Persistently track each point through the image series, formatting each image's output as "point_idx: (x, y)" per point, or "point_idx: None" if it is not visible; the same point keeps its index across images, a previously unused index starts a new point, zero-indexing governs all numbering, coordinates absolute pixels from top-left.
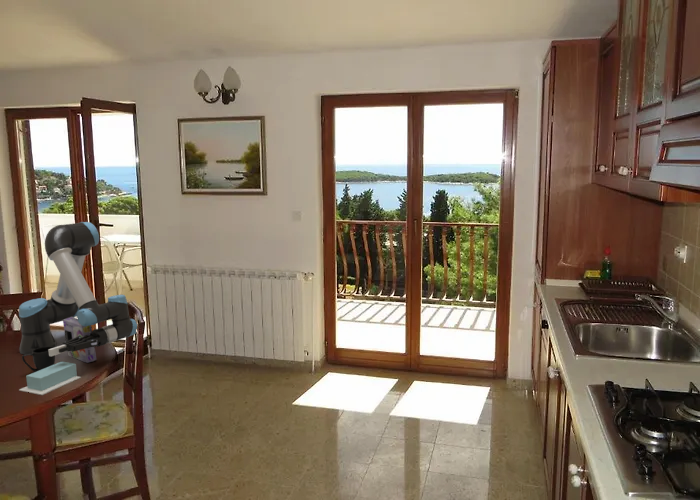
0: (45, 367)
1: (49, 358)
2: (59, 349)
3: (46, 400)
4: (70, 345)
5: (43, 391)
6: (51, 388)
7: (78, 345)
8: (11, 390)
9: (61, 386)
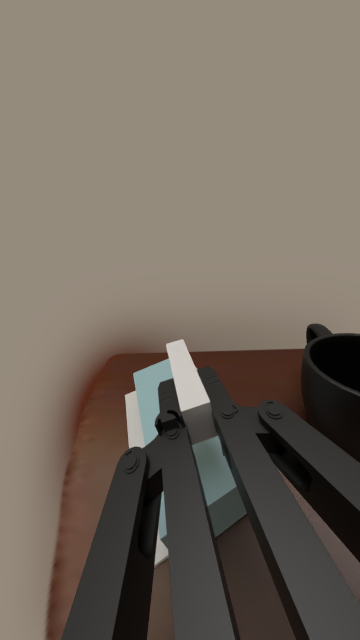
0: (308, 415)
1: (318, 407)
2: (167, 381)
3: (92, 400)
4: (161, 450)
5: (136, 399)
6: (136, 417)
7: (94, 556)
8: (207, 357)
9: (129, 448)
